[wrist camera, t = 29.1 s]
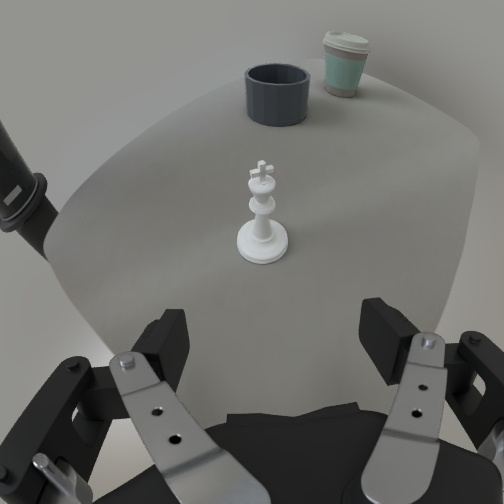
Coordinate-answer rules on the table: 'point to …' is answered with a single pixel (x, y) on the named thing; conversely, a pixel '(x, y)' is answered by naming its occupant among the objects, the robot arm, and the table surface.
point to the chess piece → (262, 221)
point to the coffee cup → (344, 62)
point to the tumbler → (277, 94)
